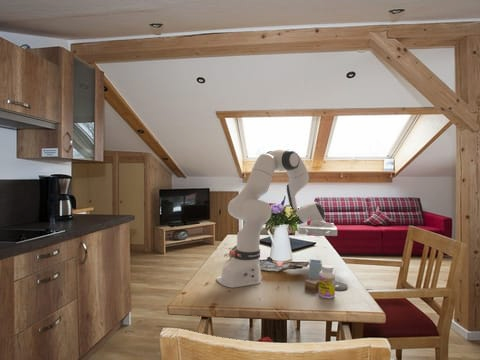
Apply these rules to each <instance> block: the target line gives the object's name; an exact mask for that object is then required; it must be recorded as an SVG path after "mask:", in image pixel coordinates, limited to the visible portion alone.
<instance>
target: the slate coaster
mask: <svg viewBox="0 0 480 360" xmlns="http://www.w3.org/2000/svg"><path fill="white" fill-rule="evenodd" d="M348 288H349V287H348V284H346V283H344V282H341V281H336V280H335V292H336V291H340V292H343V291H346V290H348Z"/></svg>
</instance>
